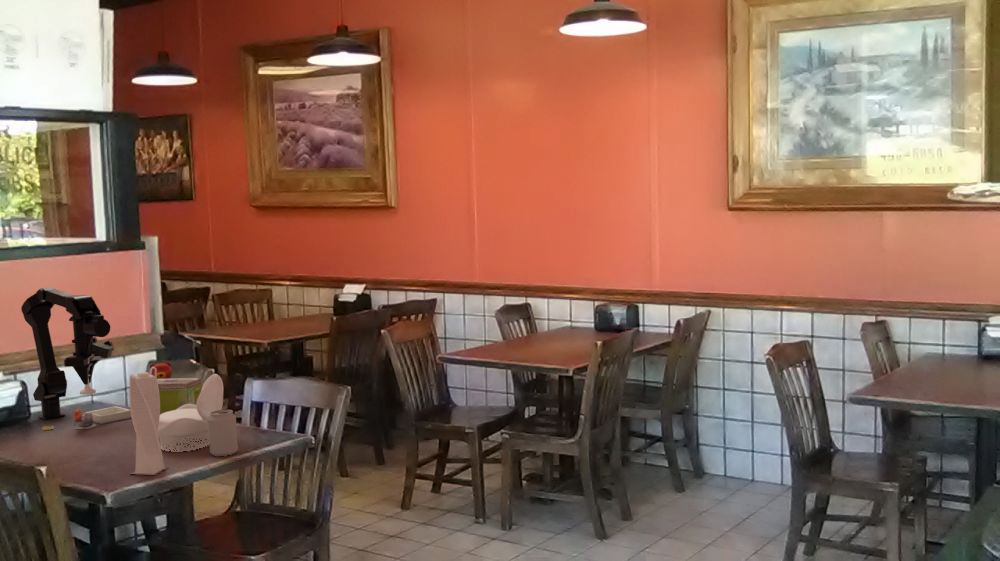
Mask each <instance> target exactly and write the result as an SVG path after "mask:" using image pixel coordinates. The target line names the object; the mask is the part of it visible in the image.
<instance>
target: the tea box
mask: <svg viewBox="0 0 1000 561" xmlns="http://www.w3.org/2000/svg"><path fill="white" fill-rule="evenodd" d="M157 382H158V388H159V396H160V415H161V414H162V413H165V412H168V411H173V410H176V409H178V408H179V407H181V406H183V405H185V404H195V405H196V403H197V399H198V397H199V395H200V393H201V390H202V386H203V384H202V377H183V378H181V377H179V378H178V377H177V378H173V377H171V378H170V379H157ZM182 409H183V408H182ZM184 409H185V408H184ZM188 409H189V407H188Z"/></svg>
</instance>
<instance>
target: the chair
mask: <svg viewBox="0 0 1000 561" xmlns="http://www.w3.org/2000/svg"><path fill="white" fill-rule="evenodd" d="M224 388H225V387H224V383H223V379H222V378H221V376H220V375H219V374H217V373H213V374H211V375H210V376H209V377H207V378H206V380H204V382H203V384H202V390H201V393H200V395H199V397H198V399H197V403H196V405H195V404H185V405H183V406H181V407H179V408H178V409H176V410H173V411H168V412H165V413H162V414H161V415H160V418H159V425H158V431H157V433H158V437H159V441H160V446H161V449H162V450H161V451H164V450H165V452H169V451H170V450H171V453H184V452H183V451H187V452H192V451H191V450H193V451H197V450H196V449H198V450H200V449H199V448H201V449H203V447H204V448H206V447H208V446H210V445H209V442H208V440H209V429H208V418H209V417H210V413H211V412H213V411H217V410H223V403H224ZM188 407H189V409H188ZM182 408H183V409H182ZM184 408H185V409H184ZM194 437H195V440H192V439H193V438H194ZM184 438H187V439H188V441H187V442H185V441H186V440H187V439H186V440H185V439H184ZM189 438H192V439H190V441H192V442H193V441H194V442H193V443H192V442H191V444H193V445H194V444H195V441H197V442H198V441H199V442H198V443H200V442H201V444H202V445H200V444H199V445H197V442H196V444H195V448H194V447H193V445H191V444H190V445H191V448H193V449H191V448H190V445H189V446H187V445H188V444H189V443H188V442H190V441H189ZM196 438H197V440H196ZM198 438H201V439H200V440H202V441H200V440H199V439H198ZM202 438H203V439H202ZM205 438H207V440H205ZM178 439H181V440H182V441H183V440H185V441H184V442H183V443H185V444H186V443H188V444H186V445H185V444H184V445H183V443H182V441H180V440H179V441H180V443H181V445H180V446H182V445H183V447H184V446H186V447H188V448H186V449H185V450H184V449H183V447H182V449H183V450H181V451H180V447H178V445H179V444H180V443H178V445H177V446H176V444H175V443H176V442H175V441H174V440H176V441H178ZM172 441H173V442H174V444H173V443H171V442H172ZM179 441H178V442H179ZM203 442H204V443H205V444H206V445H204V446H203ZM206 442H208V443H206ZM166 443H167V445H168V444H169V443H170V444H169V446H170V447H168V446H167V445H166ZM163 444H164V445H163ZM171 444H172V445H171ZM173 445H174V446H176V449H175V448H174V447H173ZM207 445H208V446H207ZM197 446H198V447H197ZM199 446H200V447H199ZM205 446H206V447H205ZM166 447H167V449H166ZM169 449H170V450H169ZM173 449H174V450H175V451H174V450H173ZM188 449H189V450H188ZM190 449H191V450H190ZM176 450H177V451H176Z"/></svg>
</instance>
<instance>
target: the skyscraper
mask: <svg viewBox="0 0 1000 561" xmlns="http://www.w3.org/2000/svg"><path fill="white" fill-rule="evenodd" d="M153 368H154V369H155V376H153V375H152V369H153ZM149 369H150V368H149ZM128 391H129V407H130V409H129V410H131V416H132V418H131V421H132V425H133V428H134V431H135V435H136V439H135V440H136V441H135V442H136V443H135V470H134V471H132V472H130V473H129V475H130V474H153V475H155V474H156V473H158V472H160V471H161V470H164V469H166V468H168V469H169V466H165V463H164V456H163V452H162V451H163V450H161V446H160V445H161V441H160V438H159V436H158V434H159V433H157V431H158V425H159V418H160V396H159V388H158V382H157V369H156V368H155V367H152V368H151V369H150V370H149V372H146V371H143V372H138V373H137V375H134V374H130V375H129V390H128ZM166 470H167V469H166ZM164 471H165V470H164ZM160 473H161V472H160ZM155 476H156V475H155Z"/></svg>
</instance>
